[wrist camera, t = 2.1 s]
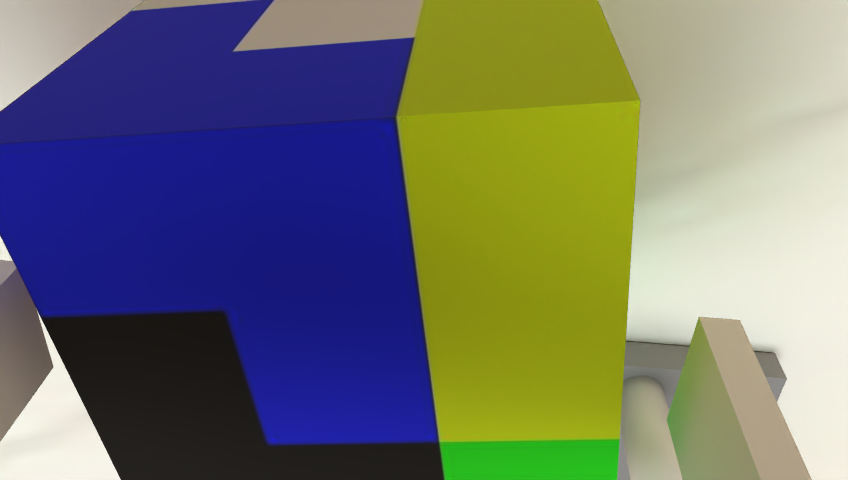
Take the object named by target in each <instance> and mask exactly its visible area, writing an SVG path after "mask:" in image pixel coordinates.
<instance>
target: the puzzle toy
mask: <svg viewBox="0 0 848 480" xmlns="http://www.w3.org/2000/svg"><path fill="white" fill-rule="evenodd" d="M639 114H640V98H639V96H638V94H637V91H636V89H635V87H634V84H633V82H632V80H631V77H630V75H629V73H628V70H627V68H626V66H625V63H624V61H623V59H622V56H621V54H620V52H619V49H618V47H617V45H616V42H615V40H614V38H613V35H612V33H611V31H610V28H609V26H608V24H607V21H606V19H605V17H604V14H603V12H602V10H601V7H600V5H599V2H598V0H145V1H143V2H142V3H141V4H139V5H138V6H137V7H135V8H134V9H133V10H132V11H130V12H129V13H128V14H126V15H125V16H124V17H122V18H121V19H120V20H119V21H117V22H116V23H115V24H113V25H112V26H111V27H109V28H108V29H107V30H106V31H104V32H103V33H102V34H100V35H99V36H98V37H96V38H95V39H94V40H93V41H91V42H90V43H89V44H87V45H86V46H85V47H83V48H82V49H81V50H80V51H78V52H77V53H76V54H74V55H73V56H72V57H70V58H69V59H68V60H67V61H65V62H64V63H63V64H61V65H60V66H59V67H57V68H56V69H55V70H54V71H52V72H51V73H50V74H48V75H47V76H46V77H45V78H43V79H42V80H41V81H39V82H38V83H37V84H35V85H34V86H33V87H32V88H30V89H29V90H28V91H26V92H25V93H24V94H22V95H21V96H20V97H19V98H17V99H16V100H15V101H13V102H12V103H11V104H9V105H8V106H7V107H6V108H4V109H3V110H2V111H0V236H1V238H2V240H3V242H4V244H5V246H6V248H7V250H8V252H9V254H10V256H11V258H12V260H13V262H14V264H15V266H16V268H17V270H18V272H19V274H20V276H21V278H22V280H23V282H24V284H25V286H26V288H27V290H28V292H29V295H30V297H31V299H32V301H33V303H34V305H35V307H36V309H37V311H38V313H39V315H40V317H41V319H42V321H43V323H44V325H45V327H46V329H47V331H48V333H49V335H50V337H51V339H52V341H53V343H54V345H55V347H56V349H57V351H58V353H59V355H60V357H61V359H62V361H63V363H64V365H65V367H66V369H67V371H68V373H69V375H70V378H71V380H72V382H73V384H74V386H75V388H76V390H77V392H78V394H79V396H80V398H81V400H82V402H83V404H84V406H85V408H86V410H87V412H88V414H89V416H90V418H91V420H92V422H93V424H94V426H95V428H96V430H97V432H98V434H99V436H100V438H101V440H102V442H103V444H104V446H105V448H106V450H107V452H108V454H109V456H110V458H111V461H112V463H113V465H114V467H115V469H116V471H117V473H118V475H119V477H120V479H121V480H617V475H618V458H619V442H620V425H621V409H622V393H623V376H624V360H625V343H626V327H627V311H628V294H629V278H630V262H631V245H632V229H633V212H634V196H635V180H636V163H637V147H638V130H639Z"/></svg>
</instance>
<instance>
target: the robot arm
mask: <svg viewBox="0 0 848 480" xmlns="http://www.w3.org/2000/svg"><path fill="white" fill-rule="evenodd" d="M52 368H53V364H52V360H51V357H50V354H49V350H48V347H47V344H46V340H45V337H44V333H43V330H42V327H41V323H40V320H39V316H38V313H37V310H36V307H35V305H34V303H33V301H32V299H31V297H30V295H29V292H28V290H27V288H26V286H25V284H24V282H23V280H22V278H21V276H20V274H19V272H18V270H17V268H16V266H15V264H14V262H13V261H5V260H0V441H1V440H2V439H3V437H4V436H5V434H6V433H7V431H8V430H9V429H10V427H11V426H12V424H13V423H14V422H15V420H16V419H17V417H18V416H19V415H20V413H21V412H22V410H23V409H24V408H25V406H26V405H27V403H28V402H29V401H30V399H31V398H32V396H33V395H34V394H35V392H36V391H37V389H38V388H39V387H40V385H41V384H42V382H43V381H44V380H45V378H46V377H47V375H48V374H49V373H50V371H51V370H52ZM667 423H668V427H669V431H670V434H671V438H672V442H673V445H674V449H675V453H676V456H677V460H678V464H679V467H680V471H681V475H682V479H683V480H812V479H811V477H810V475H809V473H808V470H807V468H806V466H805V464H804V462H803V459H802V457H801V455H800V453H799V450H798V448H797V446H796V444H795V442H794V439H793V437H792V435H791V433H790V430H789V428H788V426H787V424H786V422H785V419H784V417H783V415H782V413H781V411H780V408H779V406H778V404H777V402H776V399H775V397H774V395H773V393H772V391H771V388H770V386H769V384H768V382H767V379H766V377H765V375H764V373H763V371H762V368H761V366H760V364H759V362H758V359H757V357H756V355H755V353H754V351H753V348H752V346H751V344H750V342H749V340H748V337H747V335H746V333H745V331H744V328H743V326H742V324H741V322H740V320H732V319H720V318H707V317H699V318H698V322H697V325H696V328H695V331H694V334H693V337H692V341H691V344H690V347H689V350H688V353H687V356H686V360H685V363H684V366H683V369H682V372H681V375H680V379H679V382H678V385H677V388H676V391H675V394H674V398H673V401H672V404H671V407H670V410H669V414H668V417H667Z"/></svg>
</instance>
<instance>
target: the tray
mask: <svg viewBox="0 0 848 480" xmlns="http://www.w3.org/2000/svg"><path fill="white" fill-rule="evenodd" d="M688 350H689V346H676V345H664V344H651V343H639V342H626V343H625V360H624V376H623V393H622V409H621V425H620V442H619V458H618V475H617V480H683V479H682V475H681V471H680V467H679V464H678V460H677V456H676V453H675V449H674V445H673V442H672V438H671V434H670V431H669V427H668V423H667V417H668V414H669V410H670V407H671V404H672V401H673V398H674V394H675V391H676V388H677V385H678V382H679V379H680V375H681V372H682V369H683V366H684V363H685V360H686V356H687V353H688ZM754 353H755V355H756V357H757V359H758V362H759V364H760V366H761V368H762V371H763V373H764V375H765V377H766V379H767V382H768V384H769V386H770V388H771V391H772V393H773V395H774V397H775V399H776V402H777V400H778V398H779V396H780V393H781V391H782V389H783V386H784V384H785V382H786V380H787V378H786V376H785V374H784V372H783V370H782V367H781V365H780V363H779V361H778V359H777V357H776V355H775V353H764V352H754Z"/></svg>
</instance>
